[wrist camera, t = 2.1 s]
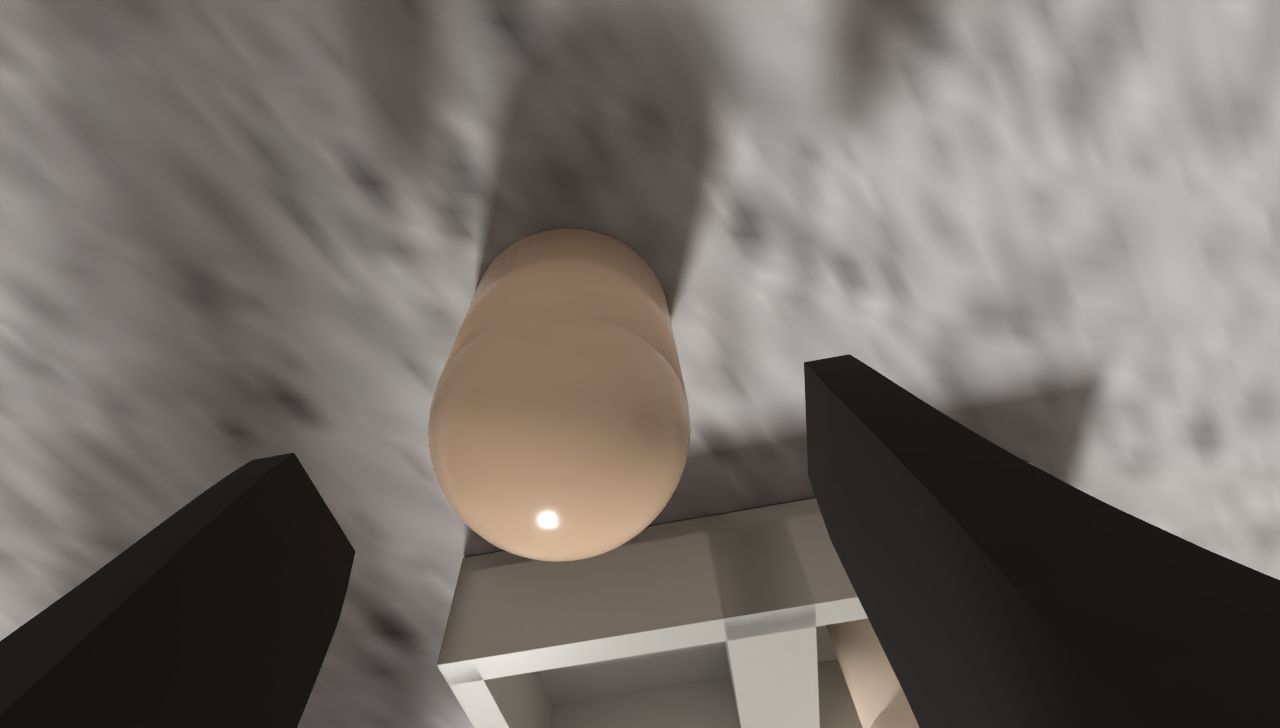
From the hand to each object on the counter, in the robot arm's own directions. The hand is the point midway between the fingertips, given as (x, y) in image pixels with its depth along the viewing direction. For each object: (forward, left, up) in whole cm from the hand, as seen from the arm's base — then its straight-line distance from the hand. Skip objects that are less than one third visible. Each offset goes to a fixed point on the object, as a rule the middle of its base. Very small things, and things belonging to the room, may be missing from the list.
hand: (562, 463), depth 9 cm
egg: (0, 0, -5) cm, 5 cm away
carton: (+3, -13, -5) cm, 14 cm away
